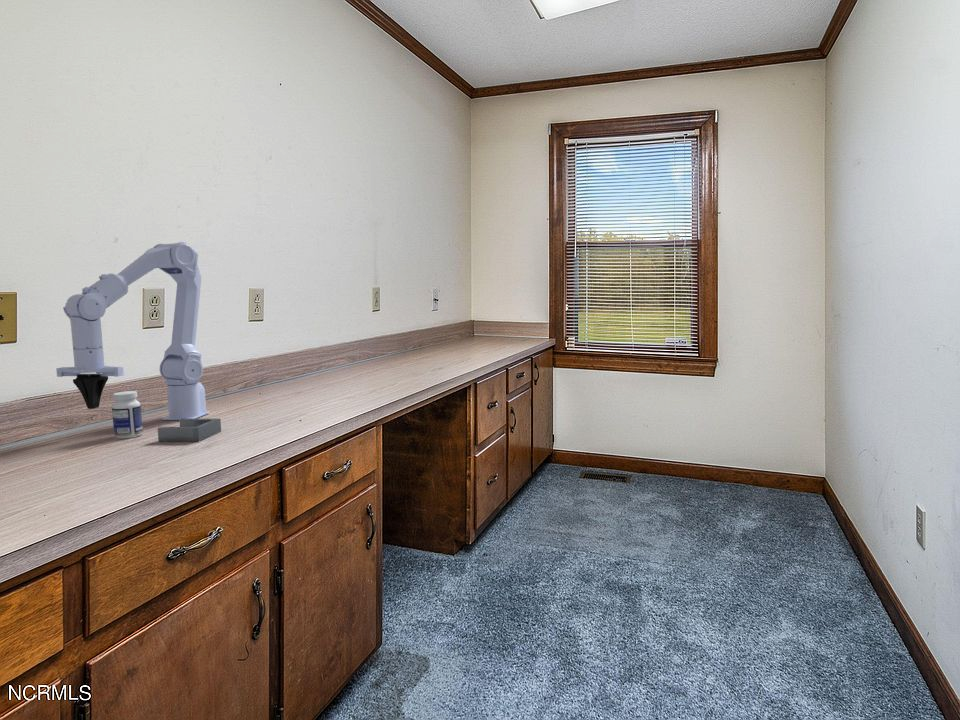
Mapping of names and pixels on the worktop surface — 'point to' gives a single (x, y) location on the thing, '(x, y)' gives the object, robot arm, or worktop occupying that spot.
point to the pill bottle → (127, 415)
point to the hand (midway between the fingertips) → (93, 408)
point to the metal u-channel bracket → (190, 430)
